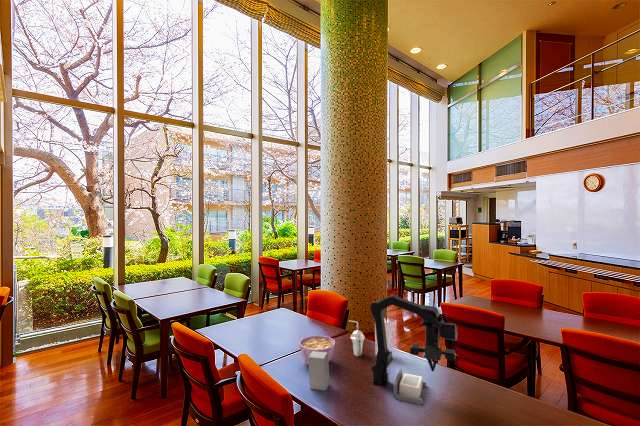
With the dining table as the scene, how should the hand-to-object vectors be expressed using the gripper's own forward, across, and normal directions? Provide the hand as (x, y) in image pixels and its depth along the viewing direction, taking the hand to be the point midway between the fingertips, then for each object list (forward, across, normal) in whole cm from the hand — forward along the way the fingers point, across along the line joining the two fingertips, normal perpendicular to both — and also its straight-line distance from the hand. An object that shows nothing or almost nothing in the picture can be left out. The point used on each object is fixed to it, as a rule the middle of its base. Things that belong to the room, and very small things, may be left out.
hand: (432, 371), depth 144 cm
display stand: (+11, -10, 0) cm, 15 cm away
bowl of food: (+11, -62, +10) cm, 64 cm away
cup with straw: (+12, -45, +29) cm, 55 cm away
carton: (+12, -10, +1) cm, 15 cm away
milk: (+12, -31, +33) cm, 47 cm away
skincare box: (+12, -51, -12) cm, 53 cm away
